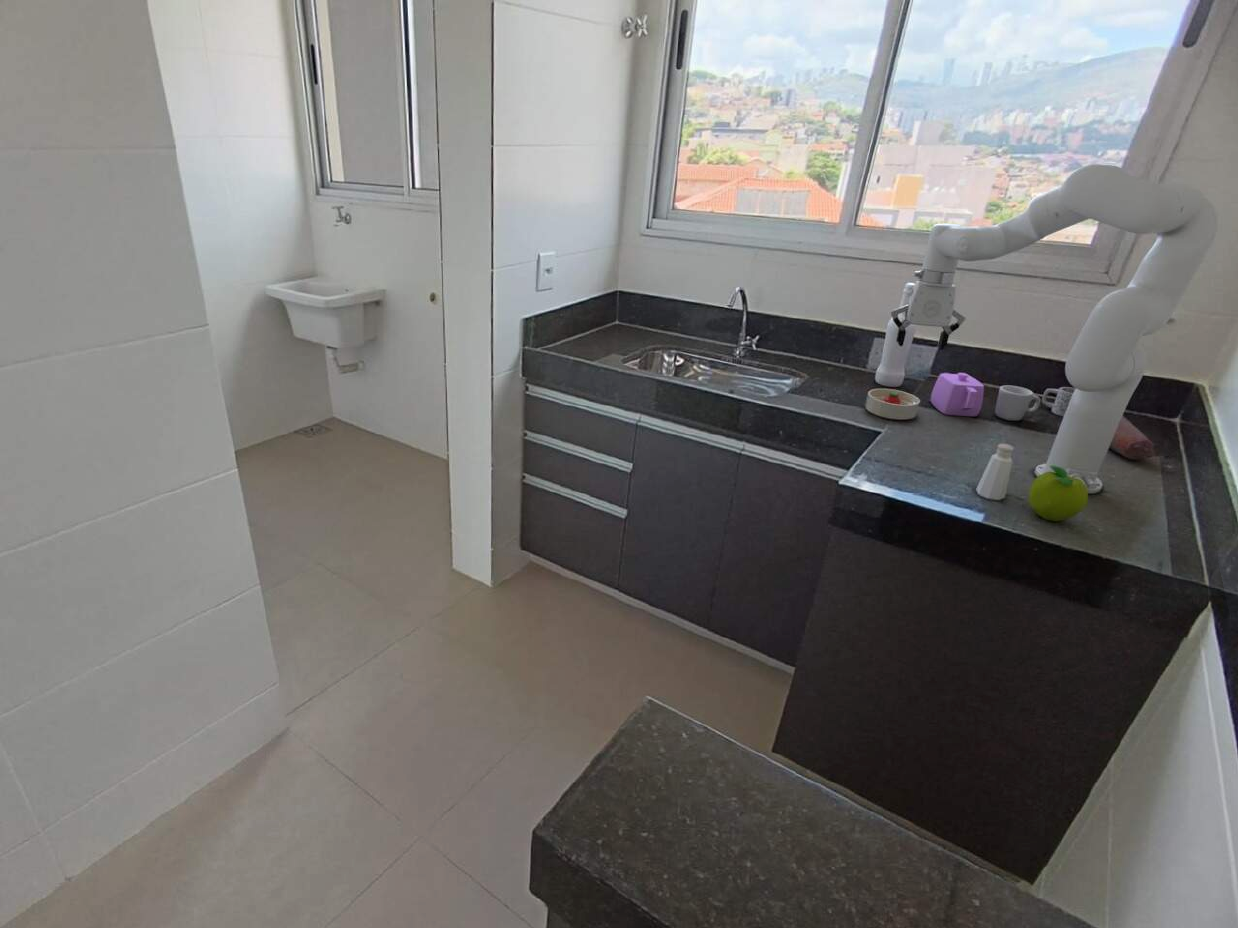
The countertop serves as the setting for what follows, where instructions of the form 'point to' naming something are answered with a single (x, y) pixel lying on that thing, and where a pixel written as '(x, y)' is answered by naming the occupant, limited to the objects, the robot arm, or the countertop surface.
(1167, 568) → the countertop surface
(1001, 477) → the pepper shaker
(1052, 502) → the fruit
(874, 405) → the bowl
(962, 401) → the teapot
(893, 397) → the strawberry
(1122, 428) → the food
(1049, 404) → the mug
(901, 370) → the bottle
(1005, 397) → the cup
